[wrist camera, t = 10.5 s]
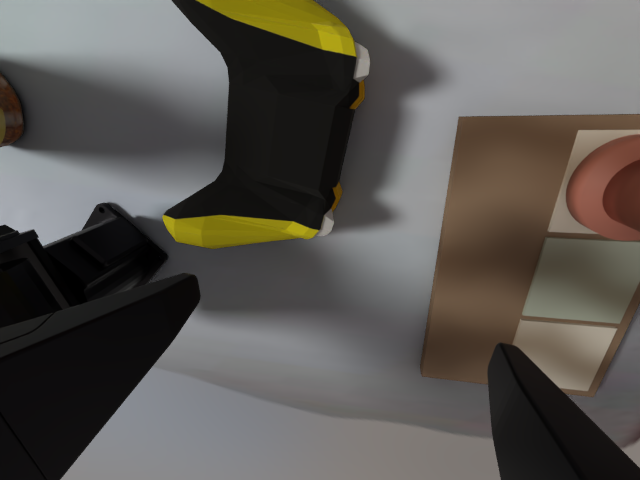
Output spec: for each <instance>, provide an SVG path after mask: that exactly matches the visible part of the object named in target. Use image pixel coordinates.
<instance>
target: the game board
mask: <svg viewBox="0 0 640 480" xmlns="http://www.w3.org/2000/svg"><path fill="white" fill-rule="evenodd" d="M634 134H640V114H615V115H543V116H472V117H459V120H458V126H457V133H456V139H455V145H454V152H453V158H452V165H451V171H450V178H449V184H448V190H447V197H446V203H445V210H444V216H443V223H442V229H441V235H440V242H439V248H438V255H437V261H436V268H435V274H434V280H433V287H432V293H431V300H430V306H429V313H428V319H427V325H426V332H425V338H424V345H423V351H422V358H421V364H420V369H421V375H422V377H431V378H439V379H447V380H456V381H464V382H472V383H480V384H488V376H487V370H488V365H489V362H490V359H491V357H492V354H493V352H494V349H495V346H496V345H497V344H498V343H500V342H502V343H507V344H511V345H515V346H517V347H518V348H520V349H521V350H522V351H523V352H524V353H525V354H526V355H527V356H528V357H529V358H530V359H531V360H532V361H533V362H534V363H535V364H536V365H537V366H538V367H539V368H540V369H541V370H542V371H543V372H544V373H545V374H546V375H547V376H548V377H549V378H550V379H551V380H552V381H553V382H554V383H555V384H556V385H557V386H558V387H559V388H560V389H561V390H562V391H563V392H564V393H565V394H572V395H580V396H588V397H594V395H595V393H596V391H597V389H598V387H599V385H600V383H601V381H602V379H603V377H604V375H605V373H606V371H607V369H608V367H609V364H610V362H611V360H612V358H613V356H614V354H615V352H616V350H617V348H618V346H619V344H620V342H621V340H622V338H623V336H624V334H625V332H626V330H627V328H628V326H629V324H630V322H631V320H632V318H633V316H634V313H635V311H636V309H637V307H638V305H639V303H640V240H632V241H621V240H614V239H610V238H607V237H604V236H602V235H600V234H598V233H596V232H594V231H592V230H590V229H588V228H587V227H585V226H583V225H581V224H580V223H578V222H577V221H576V220H575V219H574V218H573V217H572V216H571V214H570V212H569V210H568V208H567V204H566V189H567V185H568V182H569V180H570V177H571V175H572V174H573V172H574V170H575V169H576V168H577V166H578V165H579V164H580V163H581V161H582V160H583V159H584V158H585V157H586V156H588V155H589V154H590V153H591V152H593V151H594V150H595V149H597V148H598V147H600V146H602V145H603V144H605V143H607V142H609V141H611V140H614V139H617V138H620V137H624V136H628V135H634Z"/></svg>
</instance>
